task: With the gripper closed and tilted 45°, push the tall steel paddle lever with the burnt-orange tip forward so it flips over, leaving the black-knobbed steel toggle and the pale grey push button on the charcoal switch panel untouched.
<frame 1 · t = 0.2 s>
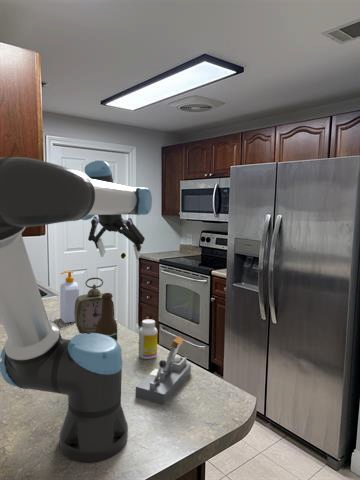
hand: (120, 255, 125), 36 cm above the countertop, tool tilted 35°, fingers open, 13 cm apart
supplement bottle: (147, 356, 124), on the countertop
paddle lever: (171, 356, 103), point 9 cm above the countertop, hinge at -20.0°
soap bottle: (68, 320, 159), on the countertop
toggle switch: (159, 372, 97), point 7 cm above the countertop, hinge at -20.0°
tabletop clock: (93, 338, 138), on the countertop
beer bottle: (106, 362, 117), on the countertop
push button: (174, 359, 110), point 5 cm above the countertop, slide at 0.0 cm
switch panel: (165, 384, 104), on the countertop
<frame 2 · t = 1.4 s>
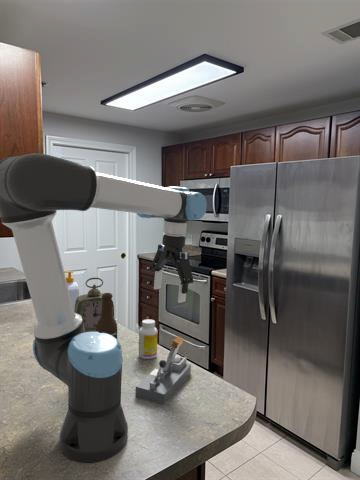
hand: (168, 295, 117), 24 cm above the countertop, tool pointing down, fingers open, 13 cm apart
nothing on the countertop moved.
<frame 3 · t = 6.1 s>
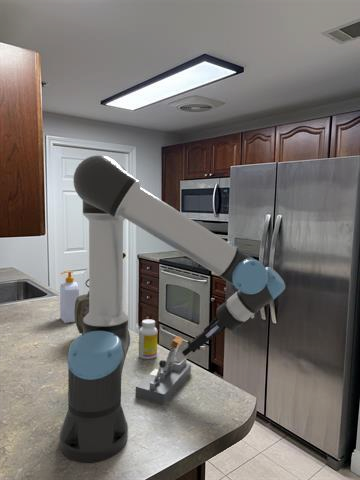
hand: (177, 358, 102), 9 cm above the countertop, tool tilted 45°, fingers closed
paddle lever: (171, 356, 103), point 9 cm above the countertop, hinge at -19.1°, touching gripper
everything else where it was.
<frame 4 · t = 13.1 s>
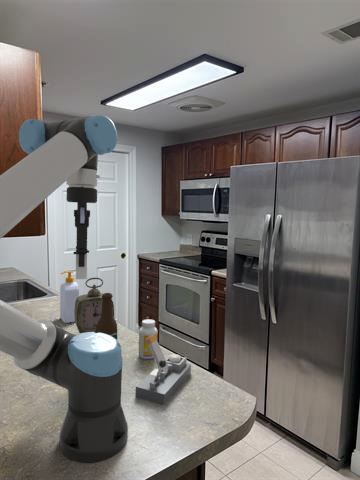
hand: (81, 278, 89), 34 cm above the countertop, tool pointing down, fingers closed
paddle lever: (158, 355, 104), point 9 cm above the countertop, hinge at 29.4°
everything else where it was.
at the end: paddle lever at +29° (first picture: -20°); toggle switch at -20° (first picture: -20°); push button slide at 0.0 cm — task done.
